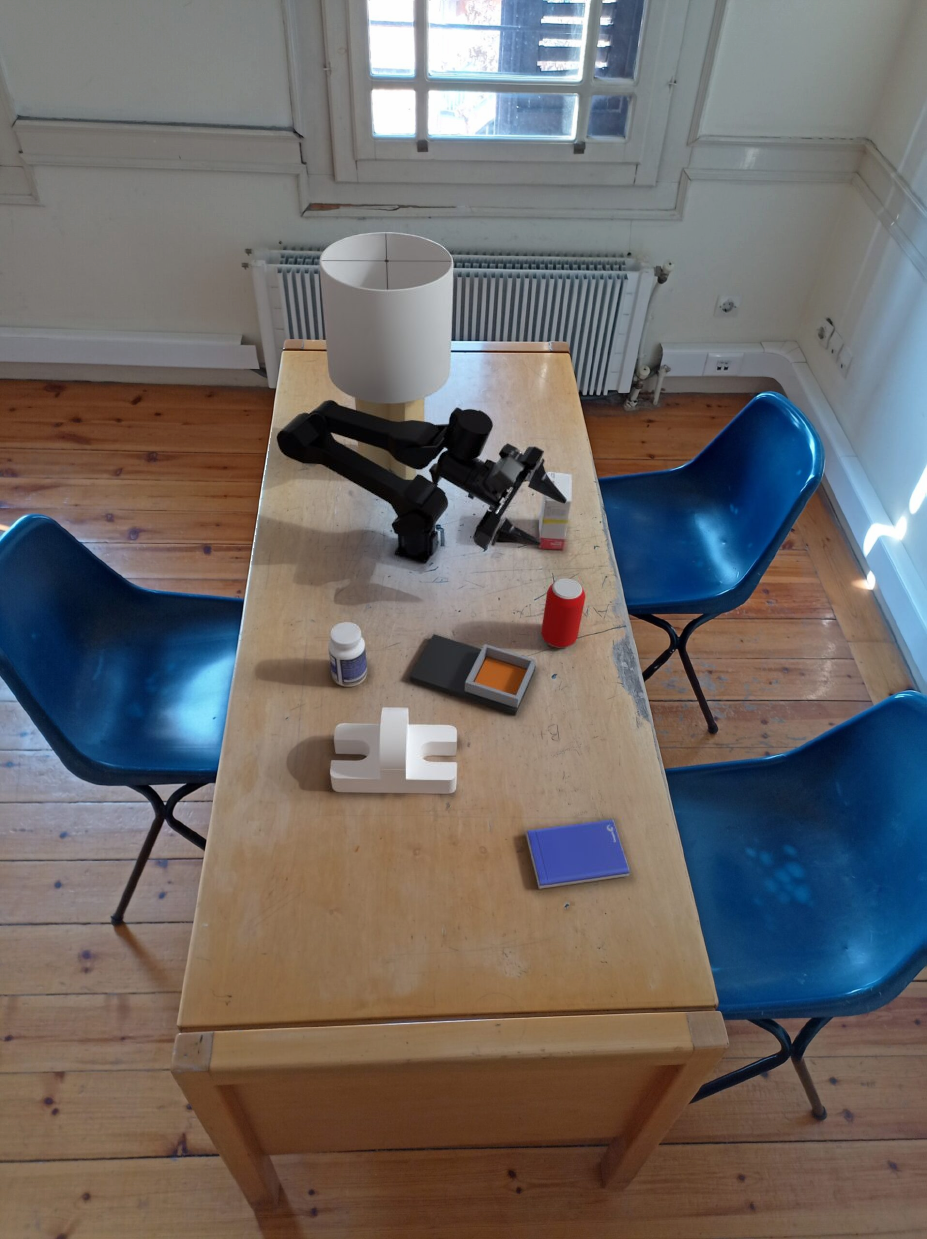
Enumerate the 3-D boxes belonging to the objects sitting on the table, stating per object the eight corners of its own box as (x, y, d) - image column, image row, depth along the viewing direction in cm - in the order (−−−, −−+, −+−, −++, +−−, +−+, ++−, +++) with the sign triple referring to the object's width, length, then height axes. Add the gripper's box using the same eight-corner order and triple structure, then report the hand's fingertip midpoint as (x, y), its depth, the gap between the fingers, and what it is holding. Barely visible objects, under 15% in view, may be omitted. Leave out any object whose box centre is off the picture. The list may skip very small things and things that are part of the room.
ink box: (564, 551, 161) (572, 501, 152) (538, 549, 161) (544, 499, 153) (564, 521, 167) (572, 472, 158) (539, 519, 167) (545, 470, 158)
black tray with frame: (409, 681, 138) (409, 667, 136) (433, 638, 145) (433, 624, 142) (515, 715, 134) (517, 702, 132) (534, 670, 140) (537, 657, 138)
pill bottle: (372, 666, 140) (370, 624, 133) (358, 692, 136) (355, 650, 129) (340, 657, 141) (336, 615, 134) (325, 682, 137) (320, 640, 130)
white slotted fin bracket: (337, 737, 130) (332, 692, 122) (456, 739, 130) (458, 695, 123) (331, 792, 123) (325, 748, 116) (456, 793, 124) (458, 750, 116)
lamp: (469, 475, 176) (479, 270, 145) (372, 513, 166) (361, 302, 135) (410, 421, 188) (408, 222, 157) (316, 453, 179) (295, 248, 148)
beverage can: (580, 649, 144) (591, 599, 135) (545, 653, 143) (553, 602, 134) (571, 623, 148) (581, 572, 139) (536, 626, 147) (544, 576, 139)
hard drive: (613, 818, 120) (526, 829, 119) (630, 871, 115) (540, 884, 113) (611, 823, 121) (525, 835, 120) (628, 877, 116) (538, 889, 114)
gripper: (449, 494, 131) (537, 546, 131) (507, 408, 138) (592, 456, 137) (441, 525, 142) (522, 573, 141) (495, 443, 148) (573, 489, 147)
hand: (553, 522), depth 141 cm, fingers open, 9 cm apart
